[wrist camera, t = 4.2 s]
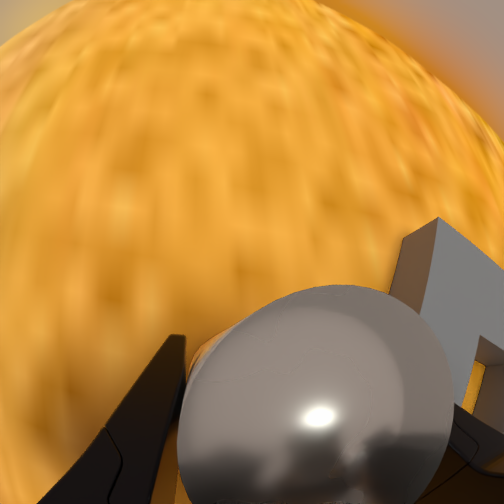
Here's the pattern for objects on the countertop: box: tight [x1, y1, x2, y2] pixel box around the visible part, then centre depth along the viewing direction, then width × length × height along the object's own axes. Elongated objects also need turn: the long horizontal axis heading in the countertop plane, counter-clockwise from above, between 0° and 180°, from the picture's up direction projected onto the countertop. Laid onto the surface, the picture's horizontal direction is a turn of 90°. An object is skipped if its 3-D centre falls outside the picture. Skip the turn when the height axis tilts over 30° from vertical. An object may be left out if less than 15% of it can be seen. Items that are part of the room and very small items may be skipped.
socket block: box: [389, 217, 504, 434], centre depth 14 cm, size 16×16×4 cm
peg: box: [177, 285, 454, 504], centre depth 9 cm, size 4×4×11 cm
